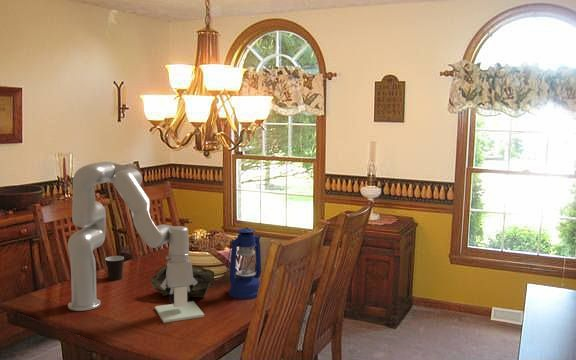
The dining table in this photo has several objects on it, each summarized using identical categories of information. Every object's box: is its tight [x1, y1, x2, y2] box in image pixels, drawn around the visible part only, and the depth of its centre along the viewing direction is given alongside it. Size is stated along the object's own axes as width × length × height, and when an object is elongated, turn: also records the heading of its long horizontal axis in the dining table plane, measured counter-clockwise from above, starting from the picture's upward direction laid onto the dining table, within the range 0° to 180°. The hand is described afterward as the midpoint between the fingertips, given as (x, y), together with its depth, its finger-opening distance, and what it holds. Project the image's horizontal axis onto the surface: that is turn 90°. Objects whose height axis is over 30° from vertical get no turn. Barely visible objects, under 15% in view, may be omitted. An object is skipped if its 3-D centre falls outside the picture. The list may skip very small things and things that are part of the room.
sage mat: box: [154, 300, 205, 324], centre depth 213 cm, size 16×16×1 cm
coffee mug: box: [105, 255, 125, 282], centre depth 255 cm, size 12×9×10 cm
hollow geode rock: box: [150, 265, 215, 299], centre depth 233 cm, size 28×13×15 cm
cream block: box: [173, 286, 187, 307], centre depth 212 cm, size 5×5×8 cm
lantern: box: [226, 227, 262, 300], centre depth 236 cm, size 17×15×30 cm
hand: (179, 301), depth 212 cm, fingers closed on cream block, 5 cm apart
